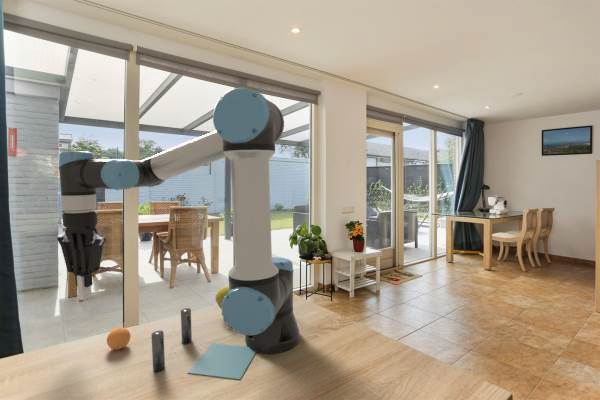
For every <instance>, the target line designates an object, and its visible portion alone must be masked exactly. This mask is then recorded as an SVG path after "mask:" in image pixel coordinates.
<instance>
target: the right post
mask: <svg viewBox="0 0 600 400" xmlns="http://www.w3.org/2000/svg"><path fill="white" fill-rule="evenodd" d="M180 324H181V325H180V326H181V328H180V329H181V343H182V344H183V345H187V344H191V342H193V340H192V339H193V338H192V337H193V334H192V331H193V330H192V309H191V308H187V307H186V308H182V309H181V310H180Z"/></svg>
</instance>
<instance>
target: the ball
mask: <svg viewBox="0 0 600 400" xmlns="http://www.w3.org/2000/svg"><path fill="white" fill-rule="evenodd" d="M130 341H131V333H130V331H129V329H128V328H126V327H116V328H113V329H112V330H111V331H110V332H109V333H108V335H107V338H106V343H107V347H109V348H110V349H111V350H122V349H123V348H125V347H126V346H128V344H129V343H130Z"/></svg>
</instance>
